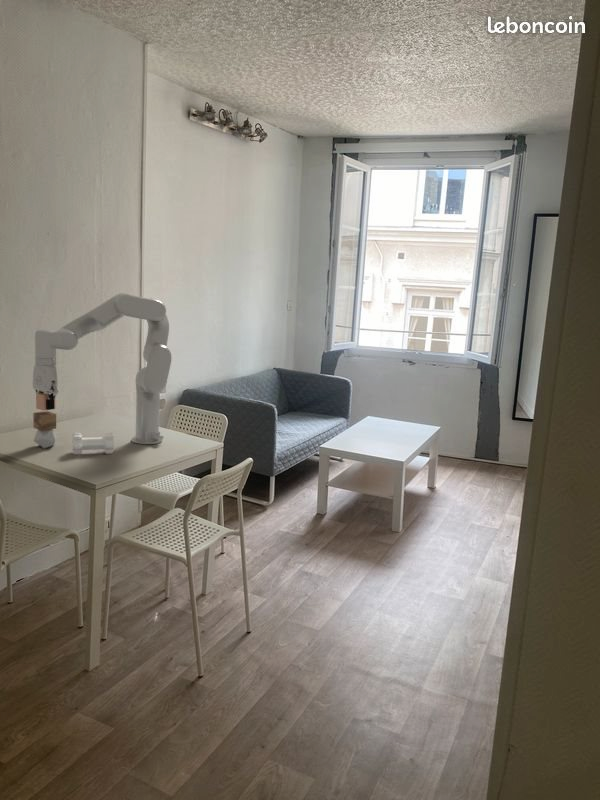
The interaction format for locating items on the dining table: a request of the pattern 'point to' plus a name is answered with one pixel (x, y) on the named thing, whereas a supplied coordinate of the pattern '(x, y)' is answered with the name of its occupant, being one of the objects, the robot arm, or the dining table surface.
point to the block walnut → (44, 420)
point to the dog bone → (93, 443)
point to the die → (45, 438)
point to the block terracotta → (42, 401)
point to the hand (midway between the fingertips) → (45, 407)
